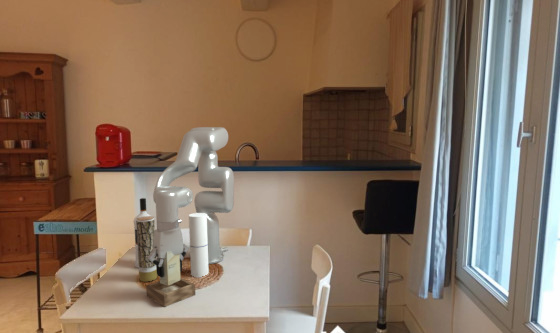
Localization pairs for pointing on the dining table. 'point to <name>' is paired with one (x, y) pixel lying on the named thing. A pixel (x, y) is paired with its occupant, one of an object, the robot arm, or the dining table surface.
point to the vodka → (142, 214)
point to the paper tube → (146, 248)
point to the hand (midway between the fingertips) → (169, 272)
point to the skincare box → (171, 269)
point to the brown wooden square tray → (170, 292)
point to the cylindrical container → (198, 244)
